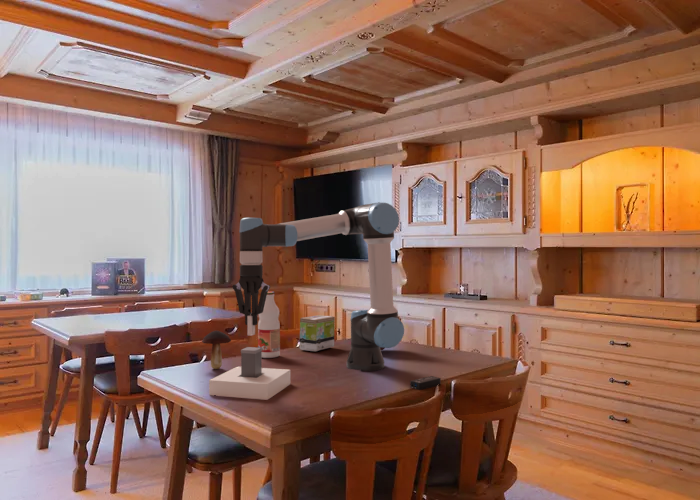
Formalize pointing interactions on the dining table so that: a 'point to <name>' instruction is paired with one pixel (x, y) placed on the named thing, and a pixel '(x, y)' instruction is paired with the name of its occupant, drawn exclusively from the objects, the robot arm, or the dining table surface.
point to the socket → (250, 384)
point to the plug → (251, 362)
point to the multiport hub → (425, 382)
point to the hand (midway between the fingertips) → (251, 334)
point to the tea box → (317, 332)
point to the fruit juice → (269, 328)
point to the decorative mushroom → (216, 347)
